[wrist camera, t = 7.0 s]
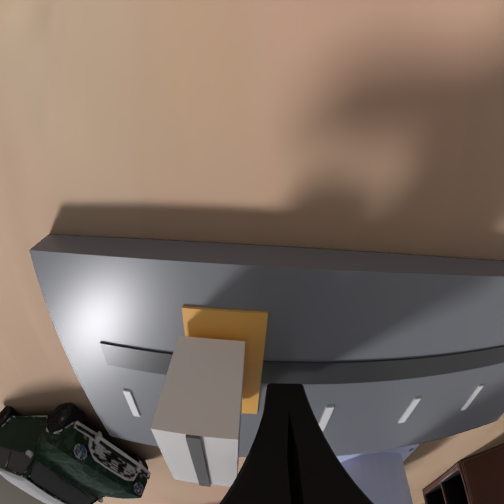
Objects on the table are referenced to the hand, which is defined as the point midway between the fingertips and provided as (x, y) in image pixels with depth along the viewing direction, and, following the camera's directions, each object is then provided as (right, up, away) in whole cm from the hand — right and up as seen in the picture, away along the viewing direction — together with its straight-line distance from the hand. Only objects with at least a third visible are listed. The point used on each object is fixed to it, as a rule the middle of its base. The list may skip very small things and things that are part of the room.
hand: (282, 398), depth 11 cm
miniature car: (-19, -11, +10) cm, 24 cm away
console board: (+5, -1, +3) cm, 6 cm away
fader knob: (-3, +1, +1) cm, 3 cm away
